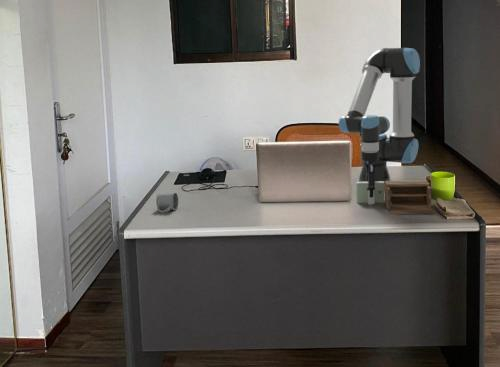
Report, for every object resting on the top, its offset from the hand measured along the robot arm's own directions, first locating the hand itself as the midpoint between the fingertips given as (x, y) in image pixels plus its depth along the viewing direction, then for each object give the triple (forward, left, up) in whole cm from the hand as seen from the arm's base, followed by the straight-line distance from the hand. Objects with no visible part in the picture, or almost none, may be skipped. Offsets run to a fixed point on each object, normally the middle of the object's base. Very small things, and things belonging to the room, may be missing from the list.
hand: (370, 201), depth 340 cm
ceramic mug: (+7, -89, 0) cm, 90 cm away
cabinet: (+12, +15, 0) cm, 19 cm away
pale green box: (0, 0, 0) cm, 0 cm away
